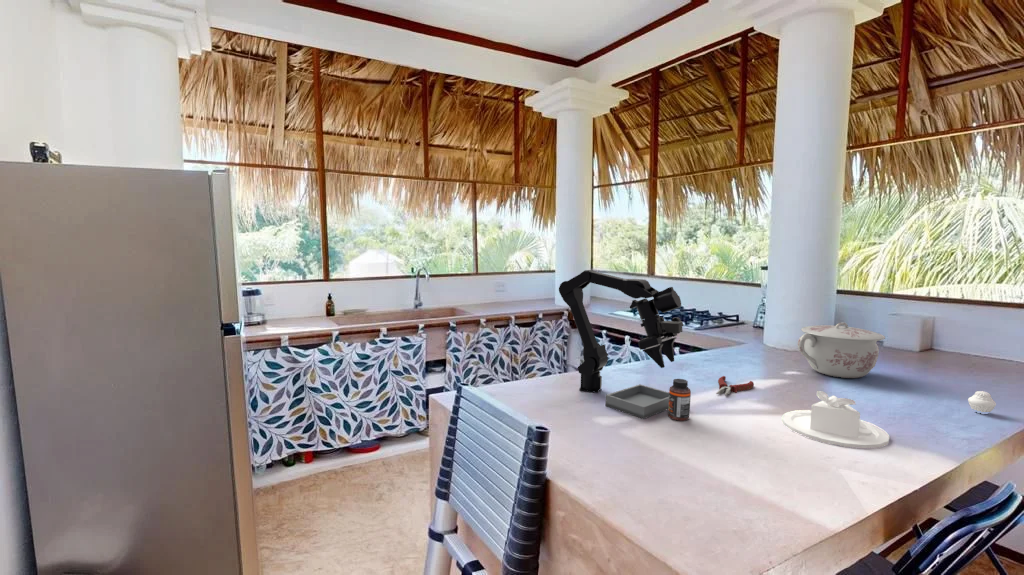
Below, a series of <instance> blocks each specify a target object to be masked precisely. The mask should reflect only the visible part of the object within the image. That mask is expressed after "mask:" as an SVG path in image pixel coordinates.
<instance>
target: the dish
mask: <svg viewBox="0 0 1024 575" xmlns="http://www.w3.org/2000/svg"><path fill="white" fill-rule="evenodd" d="M816 396H817V398H818V399H819V400H821V401H818V402H815V403H813V404H811V409H801V410H800V409H798V410H791V411H787V412H784V413H783V415H782V416H781V422H782V425H783V424H784V425H785V426H784V425H783V426H784V427H786V426H787V427H788V428H789V429H788V428H787V427H786V428H787V429H788V430H790V429H791V430H792V431H791V430H790V431H791V432H793V431H795V432H797V433H799V434H798V435H800V434H802V435H804V436H806V437H809V438H808V439H810V438H812V439H811V440H813V439H815V440H814V441H816V440H818V441H817V442H820V441H821V442H820V443H823V442H824V443H823V444H827V443H830V444H829V445H832V444H835V445H834V446H837V445H840V446H839V447H842V446H844V447H843V448H851V447H852V448H853V449H864V450H866V449H880V448H883V447H885V446H888V445H889V442H890V437H891V436H890V435H889V433H887V431H886V430H885V429H883V428H881V427H879V426H878V425H875V424H874V423H872V422H868V421H865V420H862V419H861V412H859V411H858V410H856V409H855V408H853V407H852V405H853V406H854V405H857V404H856V401H855V400H854V399H851V398H844V397H841V398H839V397H837V396H836V395H834V394H833V395H831V396H829V395H828V394H827V393H826V392H825V391H822V390H821V391H820V390H817V391H816ZM795 432H794V433H795ZM797 433H796V434H797ZM802 435H801V436H802ZM804 436H803V437H804ZM806 437H805V438H806ZM887 444H888V445H887ZM884 445H885V446H884ZM882 446H883V447H882ZM879 447H880V448H879ZM852 448H851V449H852Z"/></svg>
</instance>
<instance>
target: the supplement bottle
mask: <svg viewBox="0 0 1024 575" xmlns="http://www.w3.org/2000/svg"><path fill="white" fill-rule="evenodd" d="M672 381H673V382H672V385H671V386H669V389H668V390H669V407H668V409H667V410H668V411H667V412H668V414H667V415H668V418H669V419H672V420H673V421H680V422H684V421H685V422H686V421H688V420H689V419H690V410H691V395H692V394H691V393H692V392H691V391H692V390H691V389H690V388H689V384H688V383H689V382H688V380H687V379H685V378H684V379H683V378H674V379H673V380H672Z"/></svg>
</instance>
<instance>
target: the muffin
mask: <svg viewBox="0 0 1024 575" xmlns="http://www.w3.org/2000/svg"><path fill="white" fill-rule="evenodd" d="M991 396H992V395H991V394H990V393H989V392H987V391H984V390H982V391H981V390H978V391H975V392H974V394H973V395H972V396H970V397H968V399H967V401H968V404H969V406H970V408H971V410H972V409H974V410H977V411H981V412H990V413H991V412H992V411H993V410H994V409H995V407H996V405H997V403H996V401H995V400H993V398H992V397H991Z"/></svg>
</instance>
